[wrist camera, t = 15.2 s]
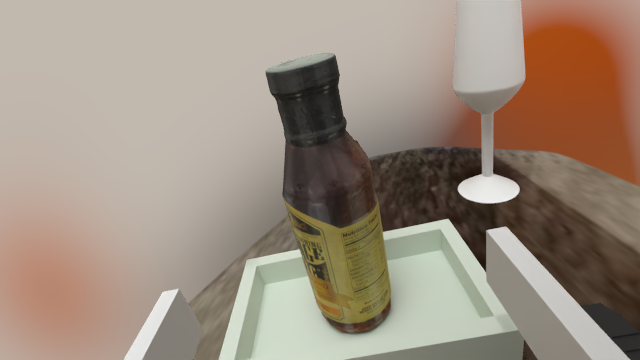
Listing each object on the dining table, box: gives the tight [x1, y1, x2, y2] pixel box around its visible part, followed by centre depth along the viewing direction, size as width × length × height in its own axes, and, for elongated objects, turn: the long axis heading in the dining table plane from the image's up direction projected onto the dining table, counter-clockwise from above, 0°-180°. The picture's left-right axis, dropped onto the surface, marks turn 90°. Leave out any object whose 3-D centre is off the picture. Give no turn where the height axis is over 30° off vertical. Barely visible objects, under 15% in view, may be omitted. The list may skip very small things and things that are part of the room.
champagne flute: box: [453, 0, 525, 203], centre depth 33 cm, size 7×7×24 cm
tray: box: [219, 219, 524, 360], centre depth 26 cm, size 20×12×4 cm, turn 92°
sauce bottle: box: [266, 53, 391, 333], centre depth 22 cm, size 7×6×20 cm
